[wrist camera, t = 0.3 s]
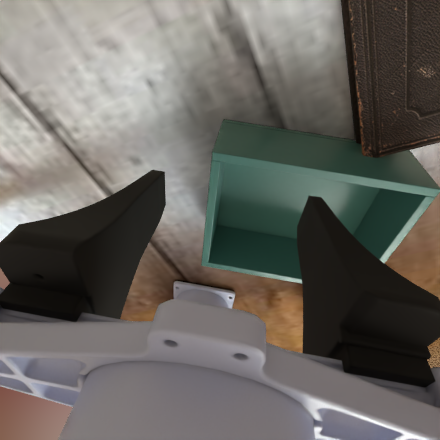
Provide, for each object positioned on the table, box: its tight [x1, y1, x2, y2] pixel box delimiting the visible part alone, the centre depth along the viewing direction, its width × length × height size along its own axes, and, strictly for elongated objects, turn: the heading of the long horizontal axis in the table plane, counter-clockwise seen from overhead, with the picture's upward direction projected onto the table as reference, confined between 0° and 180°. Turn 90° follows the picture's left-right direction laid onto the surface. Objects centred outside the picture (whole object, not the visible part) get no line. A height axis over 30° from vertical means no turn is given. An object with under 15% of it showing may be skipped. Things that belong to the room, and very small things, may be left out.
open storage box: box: [201, 119, 440, 283], centre depth 23 cm, size 11×14×6 cm
